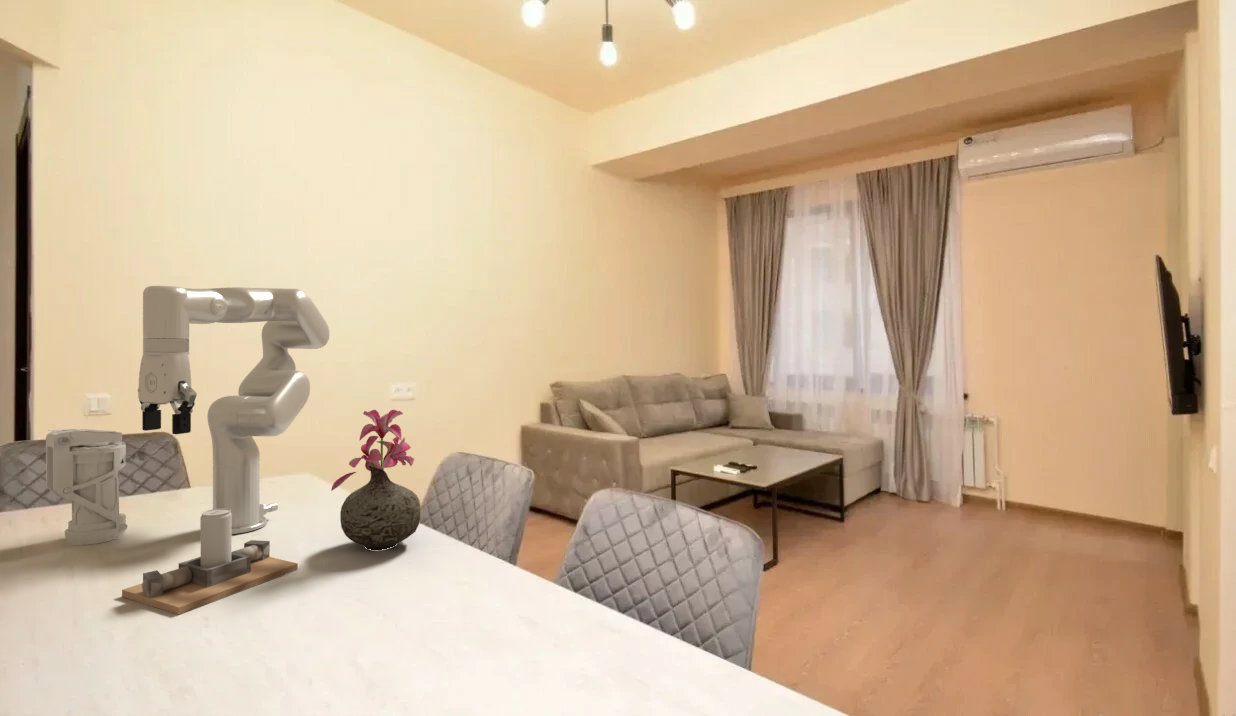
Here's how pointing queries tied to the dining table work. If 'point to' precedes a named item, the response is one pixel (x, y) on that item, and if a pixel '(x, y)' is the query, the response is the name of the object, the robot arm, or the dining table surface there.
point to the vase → (380, 492)
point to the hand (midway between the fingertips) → (166, 431)
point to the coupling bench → (209, 579)
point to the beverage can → (215, 537)
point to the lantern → (88, 481)
